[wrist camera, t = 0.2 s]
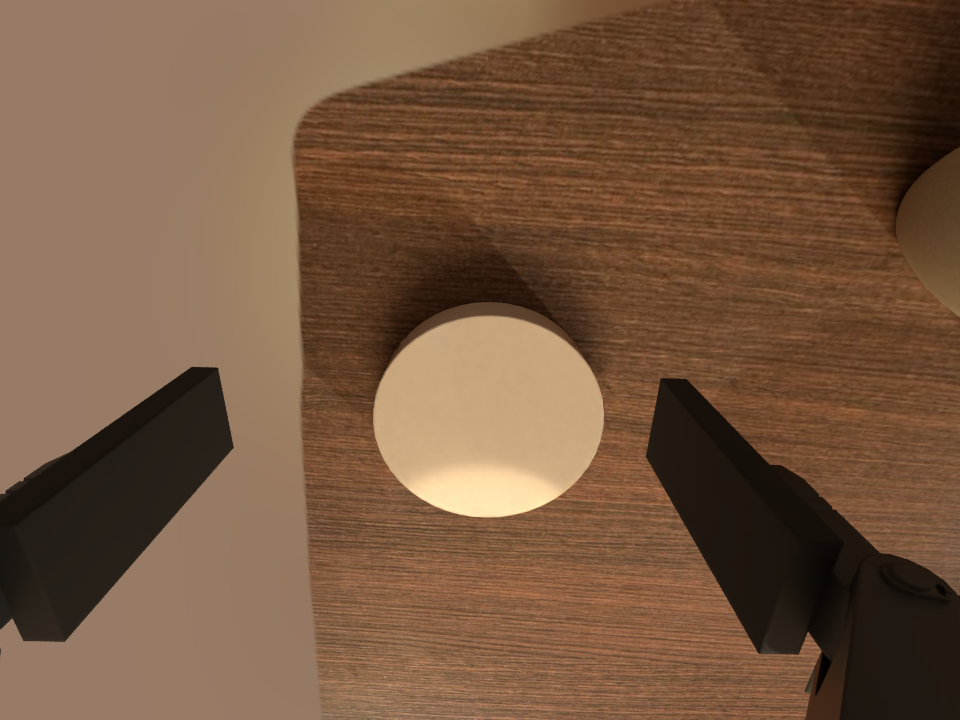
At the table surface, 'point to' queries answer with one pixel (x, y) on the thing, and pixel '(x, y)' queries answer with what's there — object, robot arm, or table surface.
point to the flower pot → (934, 229)
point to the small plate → (488, 410)
